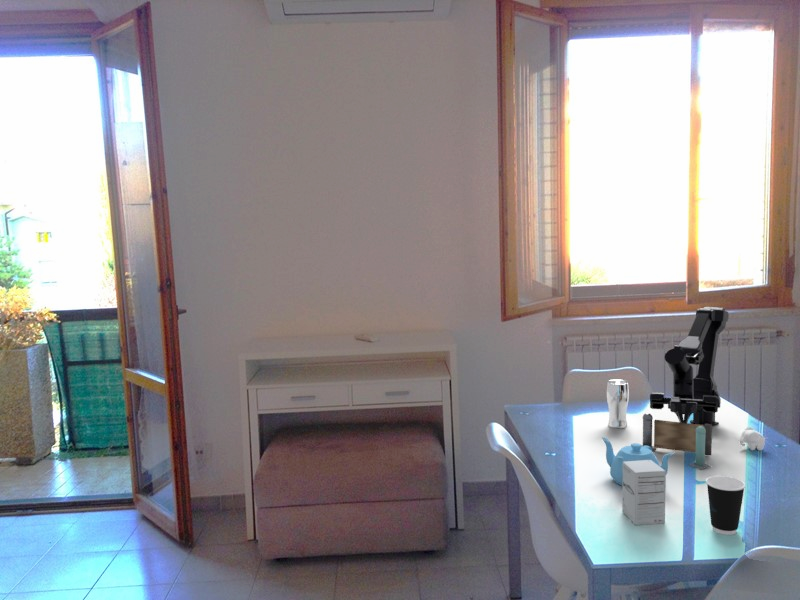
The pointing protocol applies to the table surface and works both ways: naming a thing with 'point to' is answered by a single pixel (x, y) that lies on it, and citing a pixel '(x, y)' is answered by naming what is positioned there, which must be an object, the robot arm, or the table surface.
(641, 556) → the table surface
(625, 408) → the beer glass
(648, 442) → the hinge post
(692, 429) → the gate
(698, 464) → the post
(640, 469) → the supplement box
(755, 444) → the elephant figurine
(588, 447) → the table surface
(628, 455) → the teapot
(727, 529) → the dixie cup
